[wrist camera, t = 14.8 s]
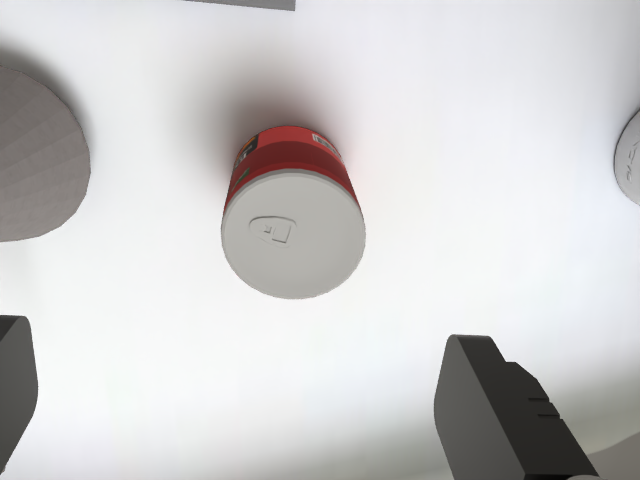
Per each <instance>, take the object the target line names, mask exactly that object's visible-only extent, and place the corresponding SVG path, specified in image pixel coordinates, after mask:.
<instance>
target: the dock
mask: <svg viewBox="0 0 640 480" xmlns="http://www.w3.org/2000/svg"><path fill="white" fill-rule="evenodd" d="M185 1H195V2H206V3H216V4H226V5H237V6H247V7H258V8H268V9H278V10H289V11H295V1H296V0H185Z"/></svg>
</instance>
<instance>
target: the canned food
mask: <svg viewBox="0 0 640 480" xmlns="http://www.w3.org/2000/svg"><path fill="white" fill-rule="evenodd" d="M365 237H366V232H365V224H364V218H363V215H362V212H361V208H360V205H359V203H358V200H357V197H356V195H355V192H354V190H353V187H352V184H351V182H350V179H349V176H348V174H347V171H346V168H345V166H344V163H343V161H342V158H341V156H340V154H339V153H338V151H337V150H336V149H335V147H334V146H333V145H332V144H331V143H330V142H329V141H328V140H327V139H326V138H324V137H322V136H321V135H319V134H318V133H316V132H314V131H311V130H309V129H306V128H301V127H296V126H280V127H275V128H271V129H268V130H265V131H263V132H261V133H259V134H257V135H256V136H254V137H253V138H251V139H250V140H249V141H248V142H247V143H246V144H245V145H244V146H243V148H242V149H241V151H240V152H239V154H238V156H237V159H236V161H235V164H234V168H233V172H232V176H231V181H230V185H229V189H228V194H227V198H226V202H225V206H224V212H223V218H222V224H221V239H222V247H223V250H224V254H225V257H226V259H227V261H228V263H229V264H230V266H231V268H232V269H233V271H234V272H235V273H236V274H237V275H238V276H239V278H240V279H242V280H243V281H244V282H245V283H247V284H248V285H249V286H250V287H252V288H254V289H256V290H258V291H260V292H261V293H264V294H267V295H270V296H273V297H277V298H284V299H305V298H311V297H316V296H319V295H322V294H324V293H327V292H329V291H331V290H333V289H334V288H336V287H338V286H339V285H341V284H342V283H343V282H344V281H345V280H347V279H348V278H349V277H350V275H351V274H352V273H353V272H354V270H355V269H356V268H357V266H358V264H359V262H360V260H361V258H362V255H363V252H364V248H365Z"/></svg>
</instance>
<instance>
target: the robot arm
mask: <svg viewBox="0 0 640 480" xmlns="http://www.w3.org/2000/svg"><path fill="white" fill-rule="evenodd" d="M615 174H616V178H617V182H618V184H619V186H620V188H621V190H622V191H623V193H624V194H625V195H626V196H627V197H628V198H629V199H630V200H632V201H633V202H635V203H636V204H638V205H639V206H640V111H639V112H638V113H637V114H636V115H635V116H634V117H633V118H632V119H631V121H630V122H629V124H628V125H627V127H626V129H625V130H624V132H623V133H622V136H621V138H620V141H619V143H618V145H617V150H616V155H615ZM37 397H38V380H37V372H36V365H35V357H34V349H33V342H32V334H31V327H30V323H29V321H28V319H27V318H26V317H25V316H12V315H0V475H1V473H2V471H3V469H4V467H5V466H6V464H7V462H8V460H9V458H10V457H11V455H12V453H13V451H14V449H15V447H16V446H17V444H18V442H19V440H20V438H21V437H22V435H23V433H24V431H25V429H26V427H27V426H28V424H29V422H30V420H31V418H32V416H33V414H34V411H35V407H36V403H37ZM434 418H435V425H436V429H437V432H438V435H439V437H440V440H441V443H442V446H443V449H444V451H445V454H446V457H447V460H448V463H449V466H450V468H451V471H452V474H453V477H454V480H608V479H605V478H601V477H599V475H598V473H597V472H596V470H595V469H594V467H593V466H592V464H591V462H590V461H589V459H588V458H587V456H586V455H585V453H584V452H583V450H582V449H581V447H580V445H579V444H578V442H577V441H576V439H575V438H574V436H573V435H572V433H571V431H570V430H569V428H568V427H567V425H566V424H565V422H564V421H563V419H560V414H559V413H558V411H557V410H556V408H555V407H554V405H553V404H552V403H550V402H549V397H548V396H547V394H546V393H545V391H544V390H543V388H542V387H541V385H540V383H539V382H538V380H537V379H536V378H535V377H533V376H532V375H531V374H530V373H529V372H527V371H526V370H525V369H524V368H522V367H521V366H520V365H519V364H518V363H516V362H506V361H505V359H504V358H503V356H502V354H501V353H500V351H499V349H498V348H497V346H496V344H495V343H494V341H493V339H492V338H491V337H490V336H479V335H455V334H453V335H450V337H449V338H448V340H447V343H446V347H445V352H444V356H443V361H442V366H441V370H440V375H439V379H438V384H437V389H436V393H435V399H434Z"/></svg>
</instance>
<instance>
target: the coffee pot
mask: <svg viewBox="0 0 640 480" xmlns="http://www.w3.org/2000/svg"><path fill="white" fill-rule="evenodd" d="M90 173H91V171H90V157H89V149H88V146H87V143H86V141H85V138H84V135H83V132H82V129H81V127H80V125H79V124H78V122H77V121H76V119H75V118H74V116H73V115H72V113H71V112H70V110H69V109H68V107H67V106H66V105H65V104H64V103H63V102H62V101H61V100H60V99H59V98H58V97H57V96H56V95H55V94H54V93H53V92H51V91H50V90H49V89H48V88H47V87H46V86H44V85H42V84H41V83H39V82H37V81H36V80H34V79H32V78H31V77H29V76H27V75H26V74H24V73H21V72H18V71H15V70H12V69H9V68H6V67H3V66H0V242H7V241H18V240H24V239H29V238H34V237H39V236H41V235H44V234H46V233H48V232H50V231H52V230H54V229H56V228H58V227H60V226H61V225H62V224H64V223H65V222H66V221H67V220H68V219H69V218H70V217H71V216H72V215H73V214H75V213H76V211H77V209H78V207H79V206H80V204H81V202H82V200H83V199H84V197H85V195H86V192H87V187H88V182H89V178H90ZM4 471H5V467H4V469H3V471H2V472H4Z"/></svg>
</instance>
